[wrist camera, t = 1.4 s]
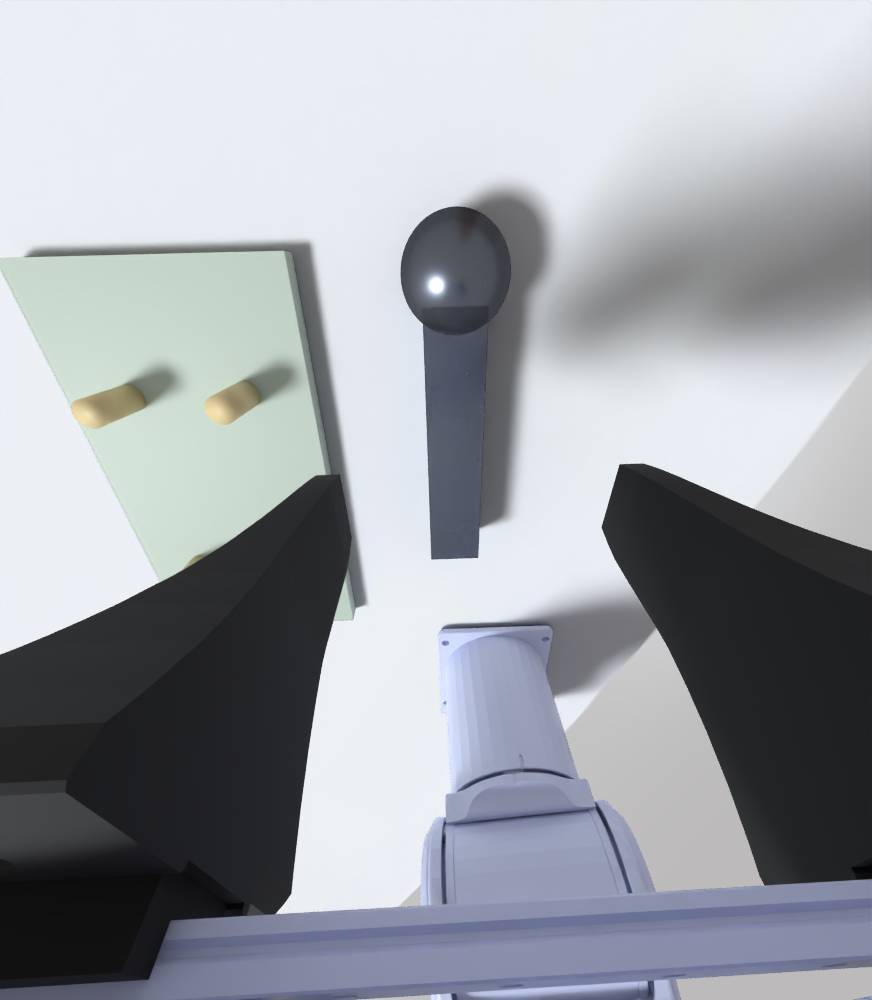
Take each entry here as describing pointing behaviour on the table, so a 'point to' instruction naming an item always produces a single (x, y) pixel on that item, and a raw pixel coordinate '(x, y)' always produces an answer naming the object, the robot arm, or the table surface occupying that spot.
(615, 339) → the table surface
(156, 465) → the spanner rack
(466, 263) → the dark grey spoon shape
